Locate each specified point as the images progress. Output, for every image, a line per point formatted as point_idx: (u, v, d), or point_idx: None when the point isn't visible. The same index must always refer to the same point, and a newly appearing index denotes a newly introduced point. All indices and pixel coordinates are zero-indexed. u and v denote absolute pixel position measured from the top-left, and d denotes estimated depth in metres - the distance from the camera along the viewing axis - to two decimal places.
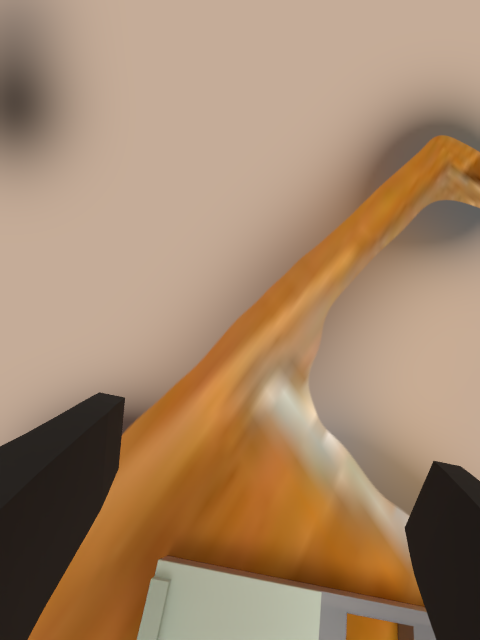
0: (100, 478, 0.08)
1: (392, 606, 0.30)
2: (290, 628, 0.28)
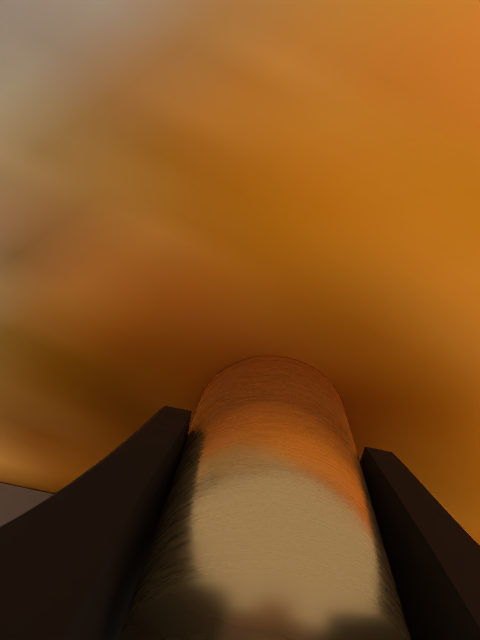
0: None
1: None
2: None
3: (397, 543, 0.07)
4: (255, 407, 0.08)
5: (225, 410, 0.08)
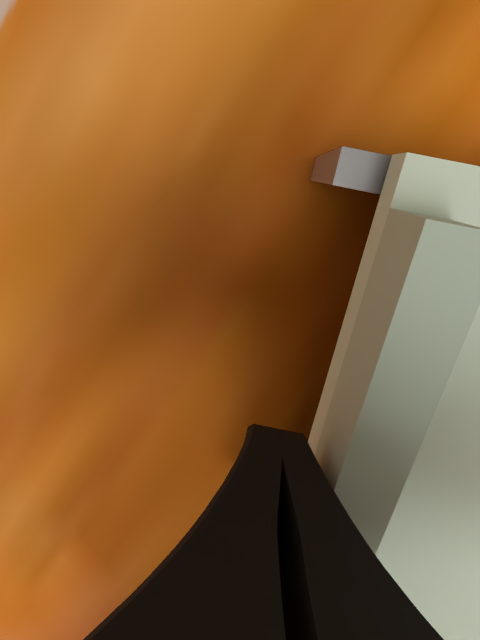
0: None
1: None
2: None
3: (281, 519, 0.07)
4: None
5: None
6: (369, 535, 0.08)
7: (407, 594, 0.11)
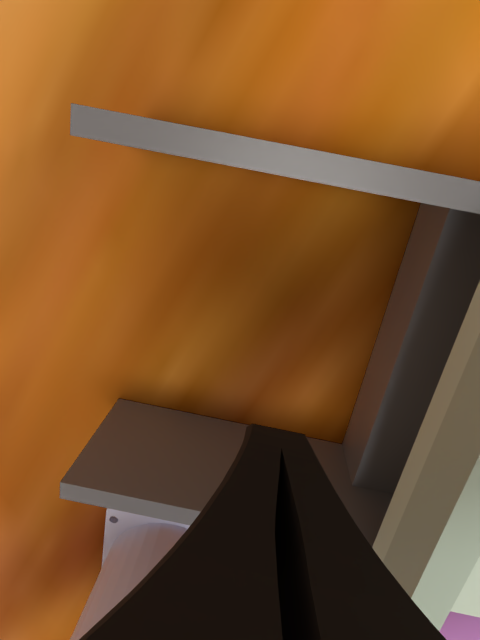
0: None
1: None
2: None
3: (283, 519, 0.07)
4: None
5: None
6: None
7: None
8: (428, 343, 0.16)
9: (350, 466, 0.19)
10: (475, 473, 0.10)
